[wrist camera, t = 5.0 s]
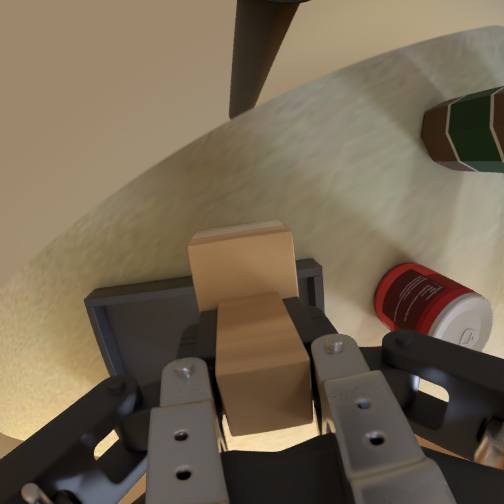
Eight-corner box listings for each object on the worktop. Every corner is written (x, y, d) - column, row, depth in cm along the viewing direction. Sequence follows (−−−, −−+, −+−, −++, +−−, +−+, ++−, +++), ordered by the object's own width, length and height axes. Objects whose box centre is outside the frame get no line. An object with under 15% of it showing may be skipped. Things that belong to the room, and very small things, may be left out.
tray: (95, 288, 28) (83, 299, 25) (312, 257, 29) (322, 266, 26) (134, 403, 32) (129, 419, 29) (319, 381, 33) (326, 397, 30)
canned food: (426, 319, 32) (483, 363, 22) (369, 332, 32) (419, 388, 21) (434, 257, 31) (501, 288, 20) (373, 264, 30) (436, 304, 19)
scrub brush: (194, 231, 15) (159, 293, 7) (276, 218, 15) (338, 264, 7) (219, 355, 17) (220, 481, 8) (291, 344, 17) (337, 460, 8)
